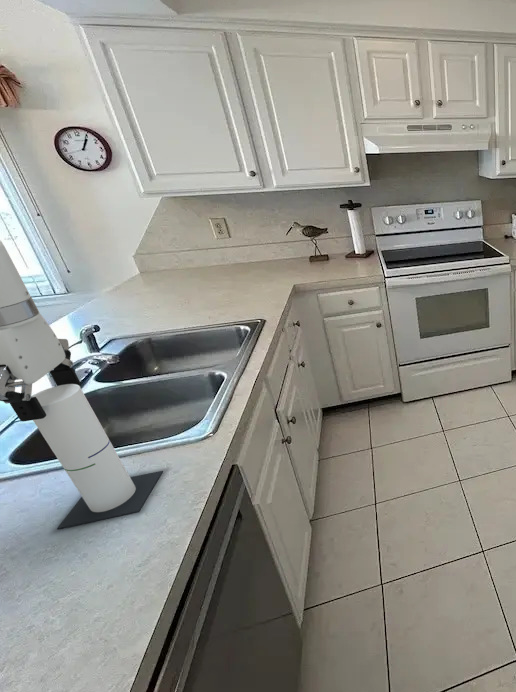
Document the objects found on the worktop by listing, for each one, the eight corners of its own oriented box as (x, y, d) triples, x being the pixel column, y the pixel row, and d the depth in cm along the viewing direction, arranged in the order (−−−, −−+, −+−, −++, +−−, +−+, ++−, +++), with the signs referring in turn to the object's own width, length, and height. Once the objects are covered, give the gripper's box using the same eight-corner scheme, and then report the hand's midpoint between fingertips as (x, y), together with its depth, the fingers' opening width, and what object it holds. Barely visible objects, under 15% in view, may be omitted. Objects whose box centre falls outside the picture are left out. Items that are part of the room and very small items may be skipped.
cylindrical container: (143, 490, 84) (87, 389, 74) (101, 517, 79) (34, 411, 68) (124, 479, 87) (68, 380, 76) (82, 504, 81) (15, 401, 71)
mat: (57, 529, 77) (56, 528, 77) (91, 485, 86) (90, 484, 86) (139, 511, 80) (138, 510, 80) (163, 471, 90) (162, 470, 89)
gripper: (13, 297, 72) (59, 380, 79) (-80, 340, 57) (-13, 438, 64) (66, 293, 74) (105, 374, 81) (-10, 333, 59) (47, 428, 66)
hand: (53, 402), depth 73 cm, fingers open, 9 cm apart
